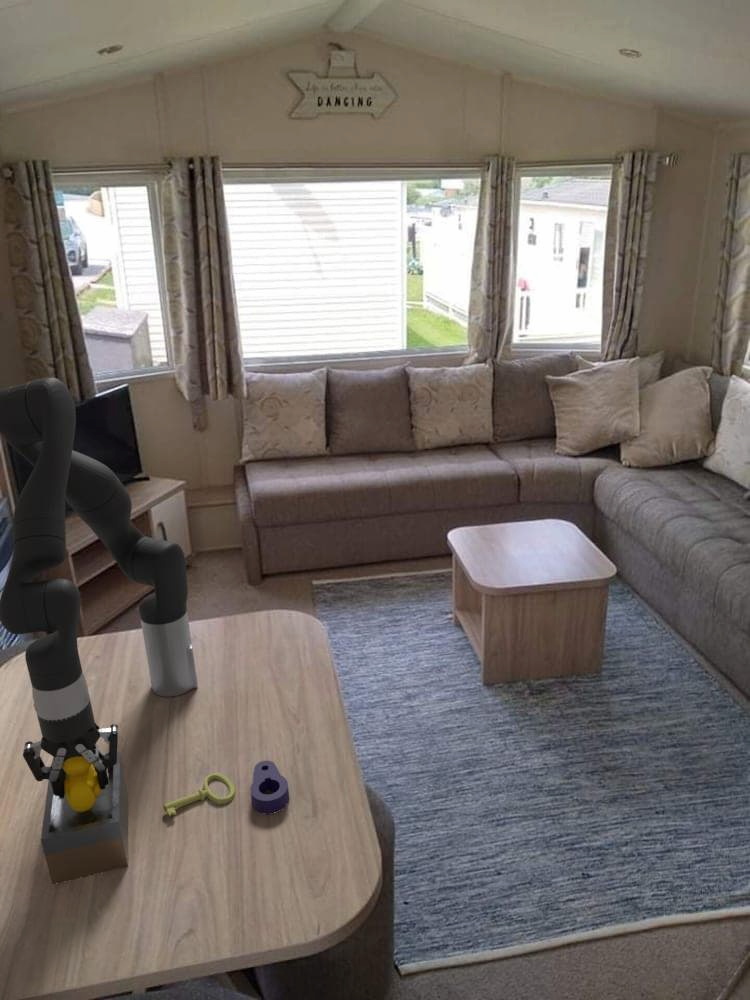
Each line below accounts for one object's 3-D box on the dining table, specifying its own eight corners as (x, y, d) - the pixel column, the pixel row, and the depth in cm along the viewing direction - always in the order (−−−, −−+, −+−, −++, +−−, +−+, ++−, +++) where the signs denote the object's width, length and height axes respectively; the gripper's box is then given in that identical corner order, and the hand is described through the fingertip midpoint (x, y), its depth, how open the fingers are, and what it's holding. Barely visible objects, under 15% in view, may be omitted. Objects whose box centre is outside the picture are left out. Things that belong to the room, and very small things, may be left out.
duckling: (66, 778, 125) (54, 729, 122) (100, 769, 127) (90, 720, 123) (67, 828, 116) (54, 776, 112) (104, 817, 117) (93, 766, 114)
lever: (292, 810, 128) (290, 796, 127) (254, 819, 127) (252, 804, 126) (281, 762, 139) (280, 749, 138) (246, 769, 138) (245, 756, 137)
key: (161, 815, 128) (159, 806, 128) (217, 774, 137) (216, 764, 136) (188, 836, 124) (187, 826, 123) (245, 791, 133) (244, 782, 132)
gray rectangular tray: (128, 793, 133) (119, 751, 129) (128, 866, 118) (119, 821, 115) (60, 809, 130) (50, 766, 126) (52, 885, 116) (40, 839, 112)
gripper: (113, 678, 119) (130, 764, 126) (14, 696, 116) (36, 784, 122) (112, 707, 113) (130, 796, 119) (7, 728, 109) (31, 818, 115)
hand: (82, 789), depth 121 cm, fingers closed on duckling, 5 cm apart
